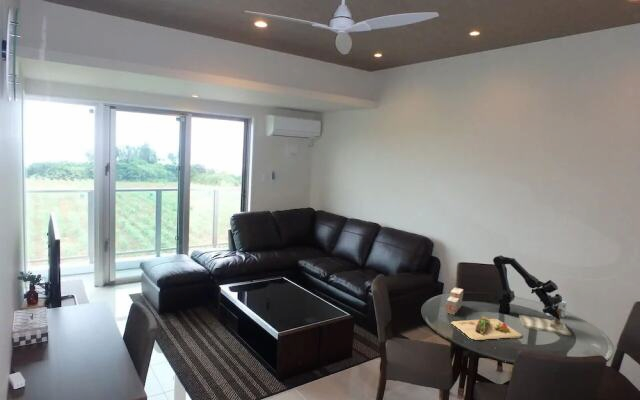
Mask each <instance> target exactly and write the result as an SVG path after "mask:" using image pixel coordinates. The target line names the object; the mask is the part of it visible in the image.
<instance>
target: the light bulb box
mask: <svg viewBox="0 0 640 400" xmlns="http://www.w3.org/2000/svg"><path fill="white" fill-rule="evenodd" d="M562 300H563V301H562V302H560V303H559V304H556V305H559V307H558V308H559V309H562V312H561V316H562V317H561V318H565V317H566V312H567V311H566V309H567V302H566V301H565V300H564V299H562ZM545 314H546V315H547V316H549V317H553V316H552V315H550V314H548V313H545Z"/></svg>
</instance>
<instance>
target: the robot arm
mask: <svg viewBox="0 0 640 400" xmlns="http://www.w3.org/2000/svg"><path fill="white" fill-rule="evenodd" d="M492 263H493V264H494V267H496V270H497V272H498V276H499V280H500V285H501V289H502V290H501V291H502V292H501V298H500V299H498V300H497V302H498V308H497V310H498V313H500V314H507V315H510V313H511V303H512V302H514V301H515V297H516V296H515V291H514V290H511V287H510V284H509V280H508V275H507V271H506V265H510V266H511V267H512V268H513V269H514V270H515V271H516V272H517V273H518V274H519V275H520V276H521V277H522V278H523V280H524V282H525V284H526V285H527V287H528V288H529V289H531V292H530V294H531V295H532V294H534V293H535V295H536V296H537V298H538V299H539V302H540V303H542V304H543V305H544V306H543V309H542V312H543V314H546V313H548V314H550V315H552V316H551V317H553V318H554V319H555V318H557V319H558V320H560V321H561V318H563V317H562V316H561V318H560V317H559V315H558V314H557V312H556V311H557V309H558V307H559V305H556V304H559V303H560V302H562V301H563V300H564V299H563V296H562V295H561V294H559V293H556V294H555V295H554V296H552V295H550V294H551V293H553V292H555V291H557V290H558V289H559V288H558V287H559V286H558V285H557V284H556V283H555V282H554V281H552V280H551V279H549V280H547V281H546V282H543V281H540V280H539V278H537V277H535V276H534V275H532V274H530V272H528V271H527V270H526V268H524V266H522V265H521V264H520V263H519V262H518V261H517V260H516V258H514V257H509V256H503V255H497V256H495V257H494V258H493V259H492Z"/></svg>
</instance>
